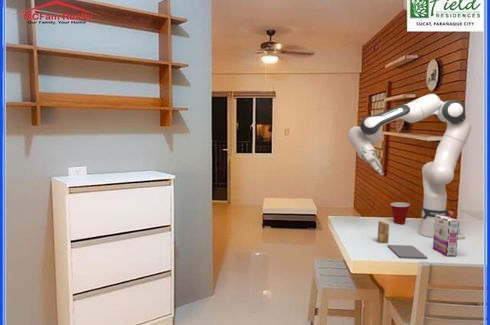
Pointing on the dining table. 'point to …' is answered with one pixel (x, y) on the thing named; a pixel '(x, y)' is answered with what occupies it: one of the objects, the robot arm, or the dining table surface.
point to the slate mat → (407, 251)
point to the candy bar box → (445, 235)
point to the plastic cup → (399, 212)
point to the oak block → (383, 232)
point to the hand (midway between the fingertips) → (380, 172)
